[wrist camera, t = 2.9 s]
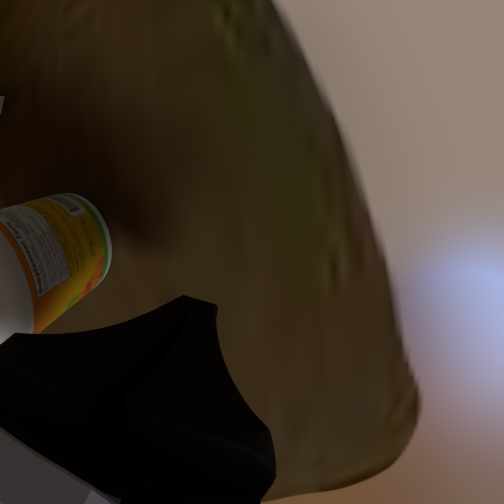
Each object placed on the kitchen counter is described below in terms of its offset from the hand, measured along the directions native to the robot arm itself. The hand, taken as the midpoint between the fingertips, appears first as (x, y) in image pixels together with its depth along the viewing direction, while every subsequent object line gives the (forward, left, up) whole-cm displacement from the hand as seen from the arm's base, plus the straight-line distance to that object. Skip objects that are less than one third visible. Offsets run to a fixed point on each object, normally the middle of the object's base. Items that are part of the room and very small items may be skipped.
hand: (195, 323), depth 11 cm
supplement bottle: (0, +8, -4) cm, 9 cm away
